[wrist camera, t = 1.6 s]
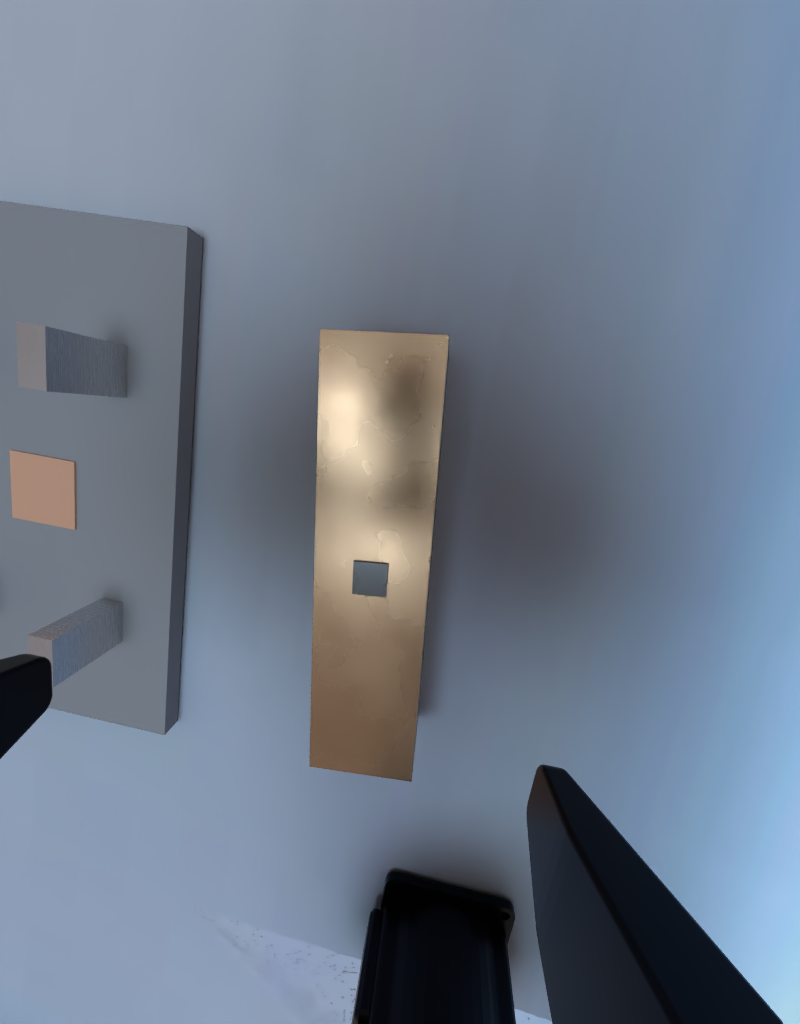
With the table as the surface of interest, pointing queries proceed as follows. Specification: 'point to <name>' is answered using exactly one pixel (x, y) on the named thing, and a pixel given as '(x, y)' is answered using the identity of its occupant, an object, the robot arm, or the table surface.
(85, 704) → the plate
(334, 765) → the tan wooden bar
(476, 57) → the table surface
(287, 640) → the table surface
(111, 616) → the set of grey blocks
